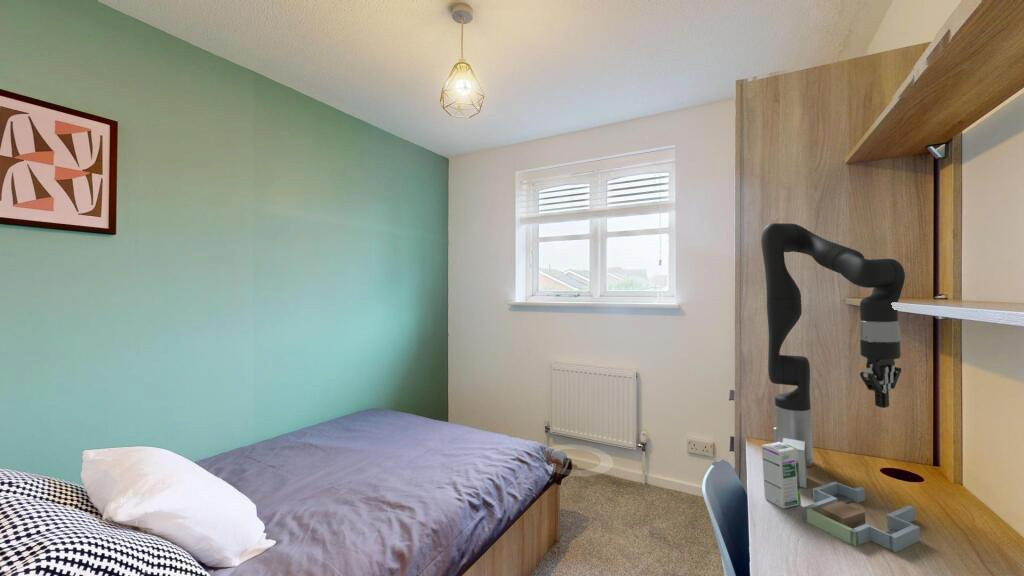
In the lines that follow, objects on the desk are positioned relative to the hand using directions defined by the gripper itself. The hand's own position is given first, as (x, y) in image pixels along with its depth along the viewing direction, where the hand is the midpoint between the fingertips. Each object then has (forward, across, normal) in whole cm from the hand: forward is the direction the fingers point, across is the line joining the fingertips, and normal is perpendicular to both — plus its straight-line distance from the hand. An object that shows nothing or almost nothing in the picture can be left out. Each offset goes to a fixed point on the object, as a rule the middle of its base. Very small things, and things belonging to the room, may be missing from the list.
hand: (882, 406), depth 103 cm
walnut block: (+24, +21, +2) cm, 32 cm away
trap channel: (+24, +14, +2) cm, 28 cm away
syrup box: (+24, +22, -11) cm, 35 cm away
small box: (+25, +8, -17) cm, 31 cm away
